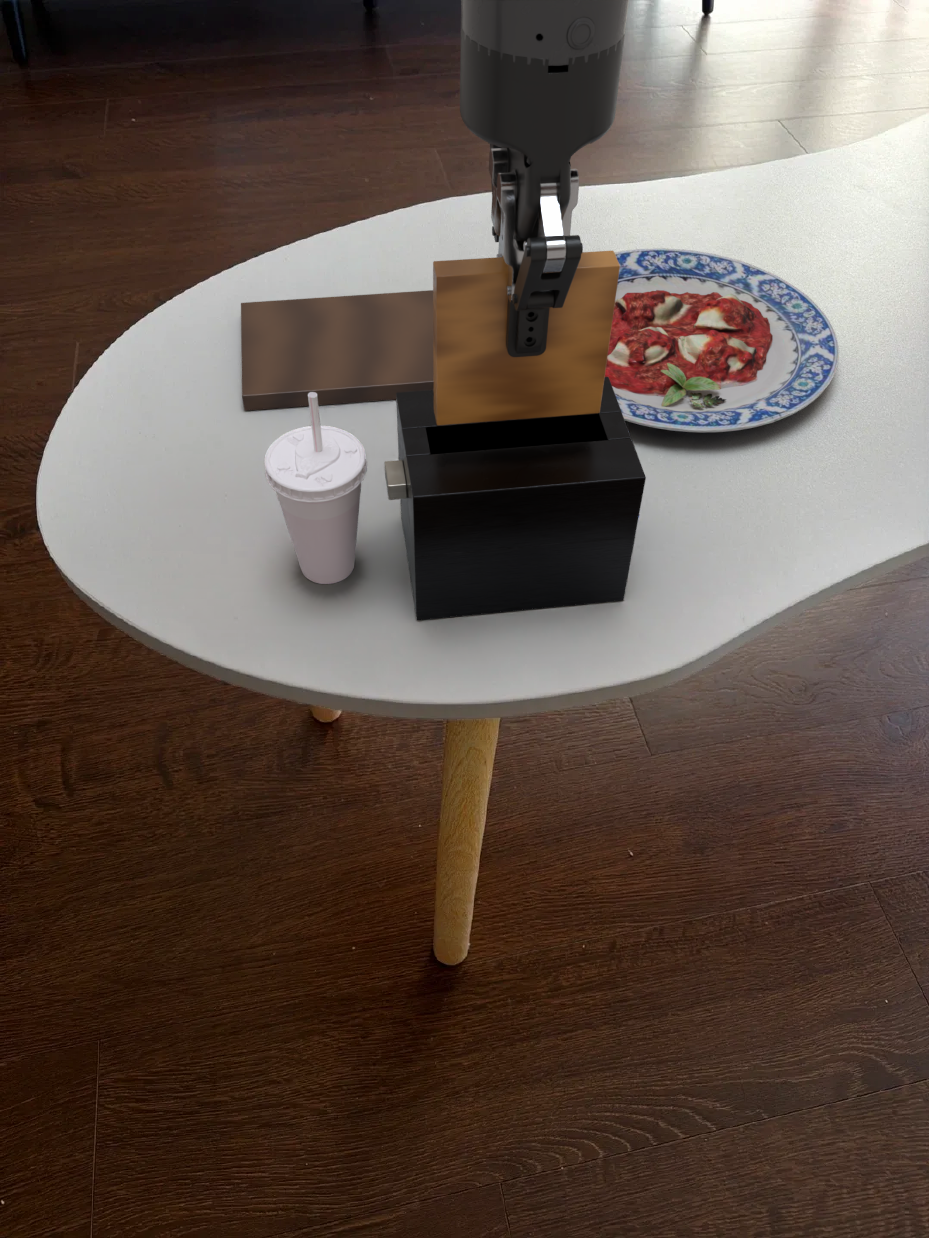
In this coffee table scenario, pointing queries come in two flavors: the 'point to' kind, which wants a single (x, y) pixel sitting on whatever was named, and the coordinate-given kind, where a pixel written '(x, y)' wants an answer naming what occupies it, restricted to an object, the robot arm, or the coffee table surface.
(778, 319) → the ceramic plate
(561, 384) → the toast
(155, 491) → the coffee table surface
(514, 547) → the toaster
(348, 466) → the smoothie
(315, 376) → the cutting board
